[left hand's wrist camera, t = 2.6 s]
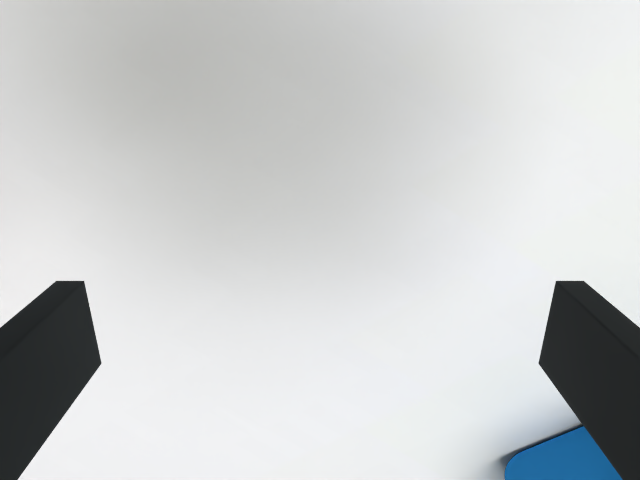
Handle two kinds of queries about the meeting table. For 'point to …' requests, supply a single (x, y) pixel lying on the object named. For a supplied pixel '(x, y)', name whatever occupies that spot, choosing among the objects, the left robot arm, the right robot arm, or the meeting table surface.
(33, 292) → the meeting table surface
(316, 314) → the meeting table surface
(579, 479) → the logo
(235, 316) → the meeting table surface
